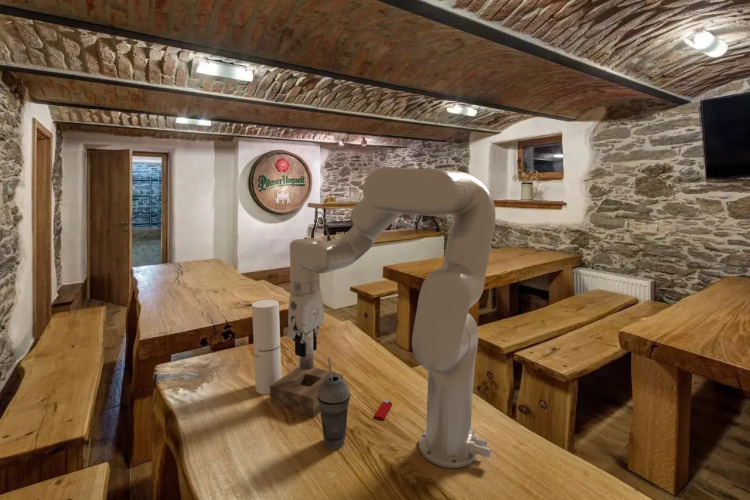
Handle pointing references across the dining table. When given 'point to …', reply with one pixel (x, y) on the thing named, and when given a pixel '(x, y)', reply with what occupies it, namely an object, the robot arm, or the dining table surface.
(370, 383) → the dining table surface
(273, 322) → the cylindrical container
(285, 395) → the walnut socket block
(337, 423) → the beverage cup
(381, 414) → the lighter
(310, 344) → the steel peg
